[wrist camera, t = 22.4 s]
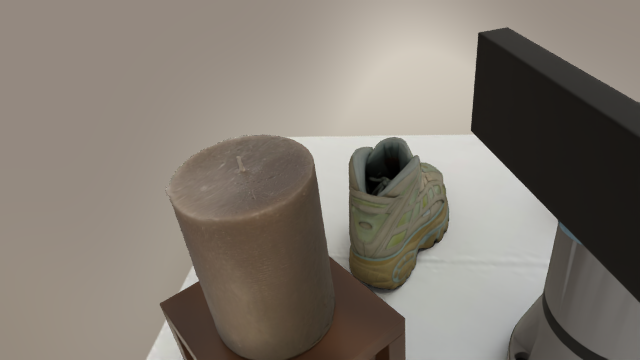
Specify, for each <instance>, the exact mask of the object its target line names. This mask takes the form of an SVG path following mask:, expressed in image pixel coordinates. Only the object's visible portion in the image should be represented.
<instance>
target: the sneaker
mask: <svg viewBox="0 0 640 360" xmlns="http://www.w3.org/2000/svg"><path fill="white" fill-rule="evenodd" d="M349 190H350V191H349V235H350V241H351V246H350V256H349V263H350V264H349V265H350V270H351V272H352V274H353V275H354V276H355V277H356V278H357V279H359V280H360V281H362V282H364V283H367V284H369V285H372V286H374V287H377V288H385V289H395V288H396V287H397V286H401V285H402V284H403V283H404V282H405V281H406V278H408V277H409V275H410V274H411V270H413V269H414V267H415V264H416V256H417V252H418V249H420V248H426V249H427V248H429V247H431V246H433V243H434V241H435V240H436V241H437V242H440V240H441V239H442V238H443V233H444V232H446V231H447V228H448V221H449V208H448V201H447V197H446V188H445V185H444V183H443V175H442V173H441V172H440V171H439V170H437V169H436V168H435V167H433V166H432V165H430V164H428V163H420V159H419V156H417V155H416V156H414V157H413V155H412V153H411V151H410V149H409V147H408V145H407V143H406V141H404V140H403V139H401V138H396V137H392V138H387V139H384V140H382V141H380V142H379V143H378V144H377V145H376V147H375V148H374V150H373V148H372V147H362V148H359V149H356V150H355V152H354V153H353V155H352V156H351V159H350V162H349Z"/></svg>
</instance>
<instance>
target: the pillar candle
mask: <svg viewBox="0 0 640 360" xmlns="http://www.w3.org/2000/svg"><path fill="white" fill-rule="evenodd" d="M166 194H167V195H168V196H169V197H170V201H171V203H172V206H173V208H174V210H175V214H176V217H177V220H178V222H179V225H180V228H181V231H182V233H183V236H184V239H185V242H186V246H187V248H188V250H189V254H190V256H191V259H192V262H193V266H194V269H195V271H196V275H197V277H198V279H199V282H200V285H201V287H202V290H203V292H204V296H205V298H206V301H207V304H208V307H209V309H210V312H211V314H212V317H213V319H214V323H215V326H216V329H217V331H218V334H219V336H220V337H221V339H222V341H223V342H224V343H225V345H226V346H227V347H228V348H229V349H230V350H232V351H233V352H234V353H236V354H237V355H239V356H241V357H244V358H247V359H251V360H286V359H290V358H293V357H295V356H297V355H300V354H302V353H304V352H305V351H307V350H308V349H310V348H312V347H313V346H314V345H315V344H316V343H318V342H319V341H320V340H321V338H322V337H323V336H324V335H325V334H326V332H327V331H328V330H329V328H330V327H331V324H332V323H333V320H334V318H333V315H334V308H335V306H336V305H335V304H336V301H335V294H334V288H333V282H332V275H331V269H330V261H329V255H328V249H327V242H326V237H325V230H324V224H323V218H322V210H321V204H320V197H319V189H318V183H317V177H316V171H315V164H314V160H313V157H312V155H311V153H310V152H309V150H308V149H307V148H306V147H304V146H303V145H302V144H300V143H298V142H296V141H294V140H292V139H288V138H284V137H280V136H271V135H254V136H247V135H244V136H240V137H238V138H231V139H227V140H224V141H222V142H219V143H217V144H216V145H214V146H212V147H209V148H206V149H203V150H201V151H200V152H199V153H197V154H195V155H193V156H191V157H190V158H189V159H188V160H187V161H186V162H185V163H184V164H183V165H182V166H180V167H179V168H178V169H177V171H176V172H175V174H174V175H173V176H172V178H171V180H170V183H169V186H167V187H166Z"/></svg>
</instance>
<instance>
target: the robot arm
mask: <svg viewBox="0 0 640 360" xmlns="http://www.w3.org/2000/svg"><path fill="white" fill-rule="evenodd" d="M471 131H472V132H473V133H474V134H475V135H476V136H477V137H478V138H479V139H480V140H481V141H482V142H483V143H484V144H485V145H486V146H487V147H488V149H489V150H490V151H491V152H492V153H493V154H494V155H495V156H496V157H497V158H498V159H499V160H500V161H501V162H502V163H503V164H504V165H505V166H506V167H507V168H508V169H509V170H510V171H511V172H512V173H513V174H514V175H515V176H516V177H517V178H518V179H519V180H520V181H521V182H522V183H523V184H524V185H525V186H526V187H527V188H528V189H529V190H530V191H531V192H532V193H533V194H534V195H535V196H536V198H537V199H538V200H539V201H540V202H541V203H542V204H543V205H544V206H545V207H546V208H547V209H548V210H549V211H550V212H551V213H552V214H553V215H554V216H555V217H556V218H557V219H558V227H557V232H556V236H555V241H554V246H553V250H552V255H551V260H550V264H549V269H548V273H547V277H546V282H545V287H544V291H543V293H542V295H541V296H540V297H539V298H538V299H537V300H536V302H535V303H534V304H533V305H532V306H531V307H530V308H529V310H528V311H527V312H526V313H525V314H524V315H523V316H522V318H521V319H520V320H519V322H518V323H517V324H516V326H515V328H514V330H513V332H512V335H511V338H510V343H509V348H508V354H507V360H640V102H636V101H634V100H632V99H631V98H629V97H627V96H626V95H624V94H622V93H621V92H619V91H617V90H615V89H614V88H612V87H610V86H608V85H607V84H605V83H603V82H601V81H600V80H598V79H596V78H594V77H593V76H591V75H589V74H588V73H586V72H584V71H582V70H581V69H579V68H577V67H575V66H574V65H572V64H570V63H568V62H567V61H565V60H563V59H562V58H560V57H558V56H556V55H555V54H553V53H551V52H549V51H548V50H546V49H544V48H542V47H541V46H539V45H537V44H536V43H534V42H532V41H530V40H529V39H527V38H525V37H523V36H522V35H520V34H518V33H516V32H515V31H513V30H511V29H509V28H502V29H496V30H491V31H485V32H480V33H478V47H477V58H476V72H475V84H474V97H473V110H472V123H471Z"/></svg>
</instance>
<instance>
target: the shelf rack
mask: <svg viewBox="0 0 640 360" xmlns="http://www.w3.org/2000/svg"><path fill="white" fill-rule="evenodd" d="M329 261H330V269H331V275H332V282H333V288H334V294H335V301H336V304H335V305H336V306H335V308H334V315H333V318H334V320H333V323H332V324H331V327H330V328H329V330H328V331H327V332H326V334H325V335H324V336H323V337H322V338H321V340H320V341H319V342H318V343H316V344H315V345H314V346H313V347H312V348H310V349H308V350H307V351H305V352H304V353H302V354H300V355H297V356H295V357H293V358H290V359H286V360H405V318H404V317H403V316H402V315H400V314H399V313H398V312H397V311H395V310H394V309H393V308H392V307H391V306H389V305H388V304H387V303H386V302H384V301H383V300H382V299H381V298H380V297H378V296H377V295H376V294H375V293H373V292H372V291H371V290H370V289H369V288H367V287H366V286H365V285H364V284H363V283H361V282H360V281H359V280H358V279H356V278H355V277H354V276H353V275H352V274H350V273H349V272H348V271H347V270H345V269H344V268H343V267H342V266H341V265H339V264H338V263H337V262H336V261H334V260H333V259H332V258H331V257H330V256H329ZM160 306H161V308H162V310H163V312H164V315H165V317H166V320H167V322H168V324H169V326H170V329H171V331H172V333H173V336H174V338H175V340H176V342H177V345H178V347H179V349H180V352H181V354H182V356H183V358H184V360H251V359H247V358H244V357H241V356H239V355H237V354H236V353H234V352H233V351H232V350H230V349H229V348H228V347H227V346H226V345H225V343H224V342H223V341H222V339H221V337H220V336H219V334H218V331H217V329H216V326H215V323H214V319H213V317H212V314H211V312H210V309H209V307H208V304H207V301H206V298H205V296H204V292H203V290H202V287H201V285H200V282H199V281H198V282H197V283H195V284H193V285H191V286H190V287H188V288H186V289H185V290H183V291H181V292H179V293H178V294H176V295H174V296H172V297H171V298H169V299H167V300H166V301H164V302H162V303H160Z"/></svg>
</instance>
